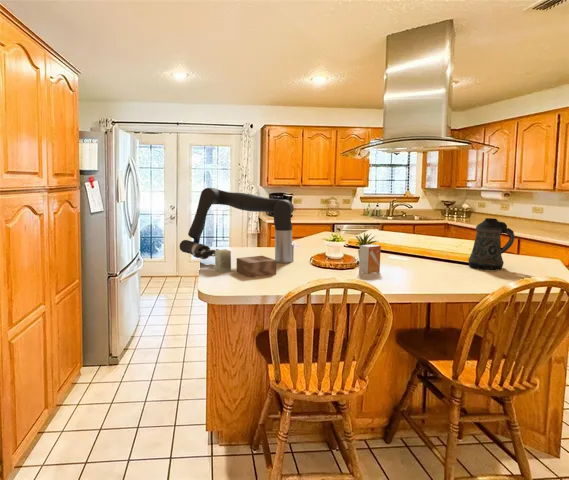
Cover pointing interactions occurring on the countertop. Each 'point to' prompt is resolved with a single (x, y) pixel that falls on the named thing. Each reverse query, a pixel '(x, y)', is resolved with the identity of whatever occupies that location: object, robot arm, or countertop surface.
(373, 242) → the house plant
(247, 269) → the walnut block
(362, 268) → the small box
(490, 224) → the beer stein
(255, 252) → the countertop surface
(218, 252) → the sage tea tin
